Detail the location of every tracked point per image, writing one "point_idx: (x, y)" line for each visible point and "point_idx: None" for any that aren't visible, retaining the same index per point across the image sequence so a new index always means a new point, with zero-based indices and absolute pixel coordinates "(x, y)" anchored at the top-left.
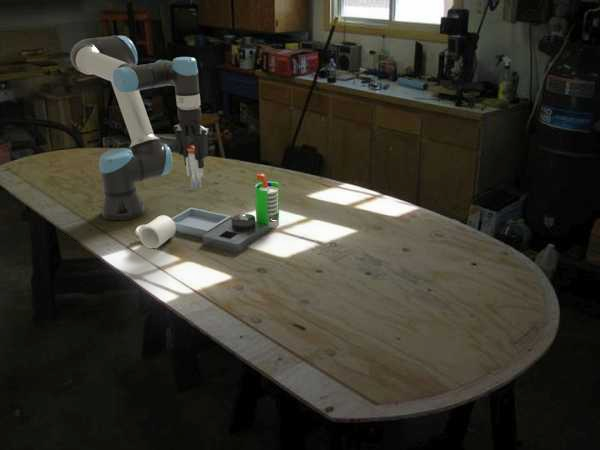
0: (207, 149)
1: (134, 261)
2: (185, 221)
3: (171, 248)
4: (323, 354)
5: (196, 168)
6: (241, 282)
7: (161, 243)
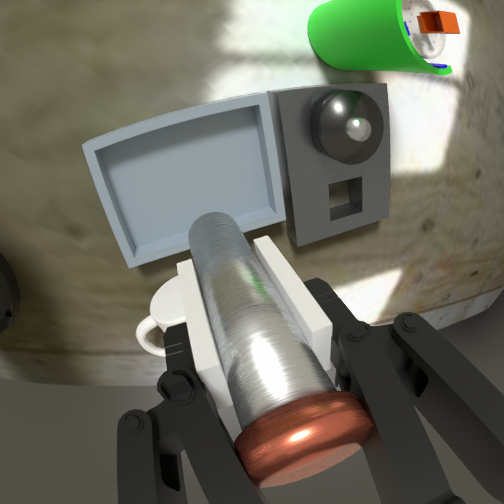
0: (457, 359)
1: None
2: (133, 195)
3: None
4: (486, 281)
5: None
6: (416, 268)
7: None
